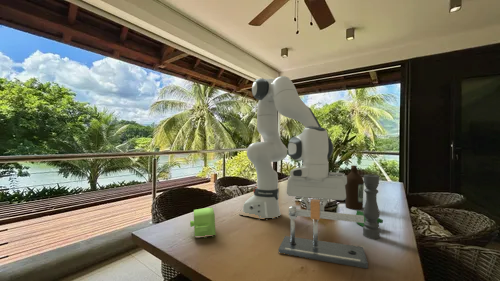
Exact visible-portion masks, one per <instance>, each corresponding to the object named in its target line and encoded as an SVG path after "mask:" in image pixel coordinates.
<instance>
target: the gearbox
mask: <svg viewBox="0 0 500 281" xmlns="http://www.w3.org/2000/svg"><path fill="white" fill-rule="evenodd" d="M215 216H216V214H215V211H214V208H213V207H204V208H198V209H193V220H189V222H190V224H189V226H190V228H192V227H194V228H193V229H194V230H193V231H194V237H195V236H205V235H215V236H216V217H215Z"/></svg>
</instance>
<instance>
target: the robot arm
mask: <svg viewBox="0 0 500 281" xmlns="http://www.w3.org/2000/svg"><path fill="white" fill-rule="evenodd" d="M251 92H252V93H251V94H252V96H253V98H254V99H256V100H257V101H258V103H257V109H256V130H257V132H258V133H259V134H260V135H261V137H262V139H263V141H256V142H253V143H250V144H249V145H248V147H247V150H246V155H247V156H246V157H247V159H248V160H249V161H250V163H252V164H253V167H254V169H255V172H256V184H257V185H256V187H255V188H254V189H253V192H252V193H253V195H252V196H250V197H249V198H248V199H246V200H245V202H244V203H243V206H242V209H243V212H245V213H249V214H255V215H258V216H259V218H272V219H274V218H273V217H277V218H279V217H278V216H280V215H282V214H281V210H280V205H279V204H280V203H279V199H280V190H279V181H278V180H279V178H278V177H279V175H278V172H277V171H276V170H274V167H273V164H272V163H274V162H275V163H276V162H279V161H282V160H284V159H286V158H287V154H288V156H289V157H290V158H291V159H292V160H293V161H294V160H295V161H302V166H298V167H295V168H292V169H291V170H290V171H289V175H290V177H289V178H288V179H287V185H286V194H287V195H288V197H299V198H300V197H301V198H303V202H304V203H305V205H306V210H311V203H309V201H308V200H309V198H311V199H319V200H321V199H322V202H323V203H322V204H320V211H323V212H325V206H326V205H327V203H328V200H332V201H333V200H335V201H344V200H345V199H346V190H345V185H346V184H347V177H346V176H347V175H346V174H344V173H342V172H335V171H333V172H332V171H329V159H330V158H331V156H332V155H333V153H334V144H333V141H332V140H331V138H330V137H329V136H328V132H327V129H326V128H324V127H322V126H321V124H320V122H319V120H318V119H317V117H316V116H315V113H314V112H313V110H312V109H311V108H310V107H309V106H308V105H307V104H306V103H305V102H304V101H303V100H302V98H301V97H300V94H298V91H297V88H296V86H295V84H294V83H293V81H292V79H291V78H289V77H288V76H286V75H282V76H281V75H280V76H278V77H276V78H263V77H260V78H256V79H255V80H254V81H253V83H252V86H251ZM278 113H279V114H280V115H281V116H283V117H285V118H288V119H291V120H295V121H297V122H299V123H301V124H302V125H303V126H304V129H303V131H302V132H301V133H300V134H297V135H295V136H293V137H291V138H290V139H289V141H288V142H287V147H286V144H284V143H283V141H282V139H281V136H280V133H279V125H278V124H279V123H278V122H279V120H278V116H279V115H278ZM260 216H261V217H260ZM280 217H281V216H280Z"/></svg>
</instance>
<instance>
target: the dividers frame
mask: <svg viewBox="0 0 500 281" xmlns="http://www.w3.org/2000/svg"><path fill="white" fill-rule="evenodd" d="M288 208H289V209H288V218H289V219H290V237H291V243H292V244H294V243H295V237H296V219H297V217H306V218H311V210H307V209H302V208H297V206H296V205H290V206H289V207H288ZM320 219H324V220H325V219H326V220H331V221H332V220H333V221H342V222H343V221H344V222H351V223H352V222H353V223H356V222H359V223H364V216H363V215H356V214H352V213H351V214H350V213H342V212H341V213H340V212H332V211H331V212H330V211H320Z"/></svg>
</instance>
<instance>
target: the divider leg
mask: <svg viewBox="0 0 500 281" xmlns="http://www.w3.org/2000/svg"><path fill="white" fill-rule="evenodd" d="M310 204H311V217H310V219H311V220H312V240H313V246H314V247H317V246H318V241H319V239H318V238H319V235H318V234H319V232H318V231H319V230H318V229H319V225H318V224H319V221H320V219H321V218H320V205H321V199H318V198H311V200H310Z"/></svg>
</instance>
